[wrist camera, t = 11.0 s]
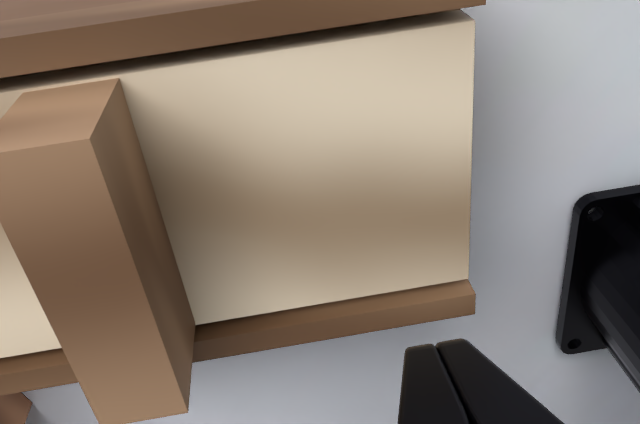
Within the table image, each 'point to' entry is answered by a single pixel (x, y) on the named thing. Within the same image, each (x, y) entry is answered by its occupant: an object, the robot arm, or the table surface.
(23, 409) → the wooden key
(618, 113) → the table surface
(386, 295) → the brown boxy piece
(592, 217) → the robot arm
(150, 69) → the lid
